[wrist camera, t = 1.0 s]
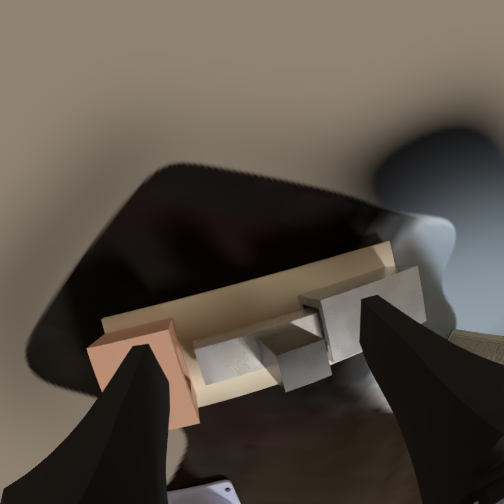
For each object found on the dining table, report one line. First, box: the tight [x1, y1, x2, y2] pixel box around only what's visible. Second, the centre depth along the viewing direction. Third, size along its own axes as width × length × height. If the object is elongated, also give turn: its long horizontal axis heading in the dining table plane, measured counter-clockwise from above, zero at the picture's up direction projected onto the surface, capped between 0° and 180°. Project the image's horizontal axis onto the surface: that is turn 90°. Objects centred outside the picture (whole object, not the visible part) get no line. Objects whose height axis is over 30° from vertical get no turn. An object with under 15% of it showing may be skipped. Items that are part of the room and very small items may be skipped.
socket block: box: [87, 317, 200, 430], centre depth 19 cm, size 6×5×5 cm
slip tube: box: [193, 307, 332, 392], centre depth 19 cm, size 2×15×7 cm, turn 104°
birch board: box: [101, 241, 395, 407], centre depth 23 cm, size 8×23×1 cm, turn 104°
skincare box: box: [448, 329, 504, 365], centre depth 21 cm, size 6×4×12 cm
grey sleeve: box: [298, 266, 427, 363], centre depth 22 cm, size 4×8×4 cm, turn 104°
